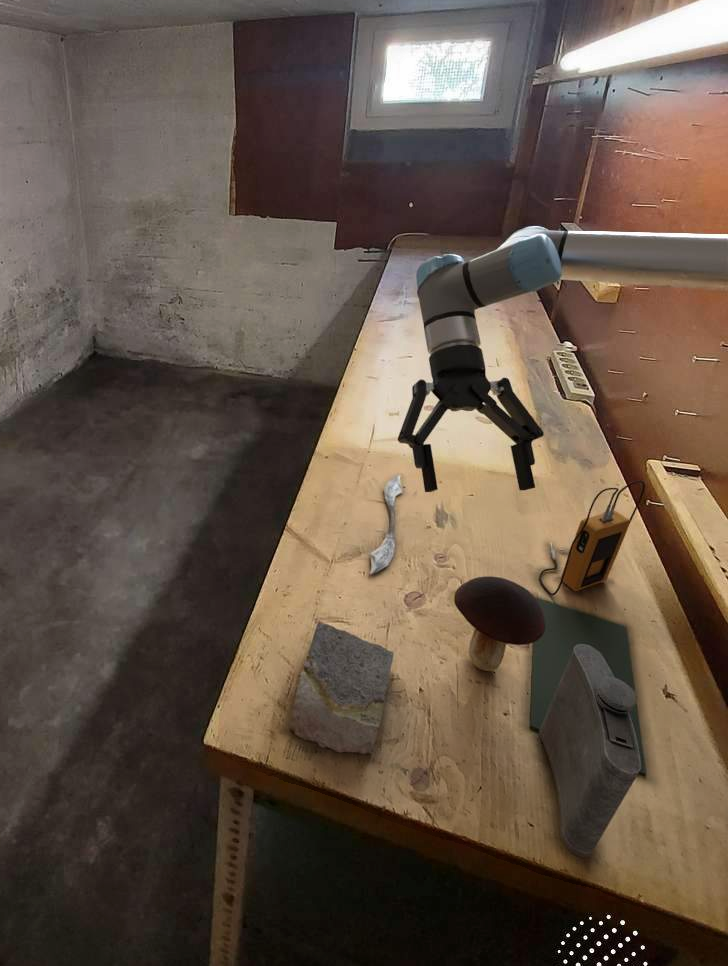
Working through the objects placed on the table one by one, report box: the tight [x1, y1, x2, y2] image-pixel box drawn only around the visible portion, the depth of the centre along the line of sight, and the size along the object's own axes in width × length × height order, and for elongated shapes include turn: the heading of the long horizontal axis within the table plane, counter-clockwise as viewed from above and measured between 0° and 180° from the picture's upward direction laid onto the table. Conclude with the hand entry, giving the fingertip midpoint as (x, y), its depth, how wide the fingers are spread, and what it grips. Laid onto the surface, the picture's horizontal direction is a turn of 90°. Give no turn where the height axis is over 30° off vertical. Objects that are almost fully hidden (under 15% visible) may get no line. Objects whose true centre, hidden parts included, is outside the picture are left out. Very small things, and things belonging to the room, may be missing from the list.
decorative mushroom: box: [453, 575, 546, 672], centre depth 77 cm, size 11×11×15 cm
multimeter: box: [538, 480, 646, 596], centre depth 92 cm, size 15×10×20 cm
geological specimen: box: [288, 620, 394, 756], centre depth 75 cm, size 11×6×15 cm
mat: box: [529, 596, 647, 776], centre depth 78 cm, size 12×24×1 cm, turn 150°
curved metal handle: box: [369, 473, 404, 575], centre depth 108 cm, size 32×1×5 cm
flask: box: [539, 644, 641, 858], centre depth 61 cm, size 4×14×18 cm, turn 161°
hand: (479, 490), depth 80 cm, fingers open, 13 cm apart
